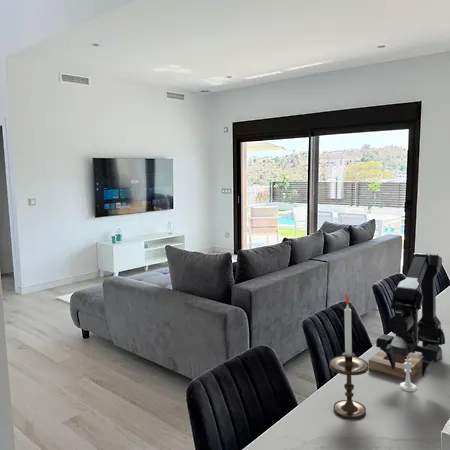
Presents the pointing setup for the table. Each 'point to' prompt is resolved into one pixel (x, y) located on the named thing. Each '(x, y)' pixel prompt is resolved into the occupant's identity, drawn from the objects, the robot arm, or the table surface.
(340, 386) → the table surface
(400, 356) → the tan wooden square block
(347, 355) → the candlestick
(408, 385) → the chess piece
